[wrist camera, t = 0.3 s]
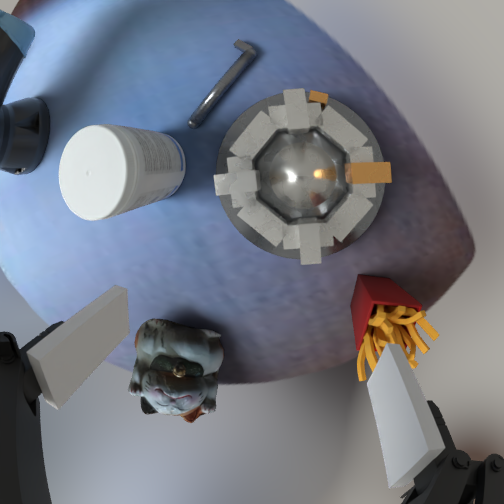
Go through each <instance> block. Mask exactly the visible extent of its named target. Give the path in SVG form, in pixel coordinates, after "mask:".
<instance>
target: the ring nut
mask: <svg viewBox="0 0 504 504" xmlns="http://www.w3.org/2000/svg"><path fill="white" fill-rule="evenodd" d="M283 95H284V102H285V105H278V106H269V107H268V108H269V116H270V117H269V116H268V115H267V114H265V113H264V112H262V111H260V112H259V113H258V115H257V116H256V117H255V118H254V119H253V121H252V122H251V123H250V124H249V125H248V127H247V128H246V129H245V130H244V132H243V133H242V134H241V135H240V137H239V138H238V139H237V140H236V142H235V143H234V144H233V145H232V147H231V148H230V149H229V150H230V151H231V152H232V153H234V154H235V155H236V157H229V158H227V165H228V173H227V174H219V175H214V183H215V191H216V196H218V195H226V194H231V197H232V205H233V208H237V207H243V208H242V209H241V210H240V212H239V213H238V214H237V216H239V217H240V218H241V219H242V220H244V221H245V222H246V223H247V224H249V225H250V226H251V227H252V228H254V229H255V230H256V231H257V232H258V233H260V234H261V235H262V236H263V237H265V238H266V239H267V240H268V241H269V242H271V243H272V244H273V245H274V246H277V245H278V244H279V243H280V242H281V241H282V240H283V245H284V249H297V248H300V258H301V265H306V264H320V263H321V247H324V246H334V243H333V236H334V237H336V238H337V239H338V240H339V241H340V242H341V241H342V240H343V239H344V238H345V237H346V236H347V235H348V234H349V233H350V231H351V230H352V229H353V228H354V227H355V226H356V225H357V223H358V222H359V221H360V220H361V219H362V218H363V217H364V215H365V214H366V213H367V212H368V211H369V210H370V208H371V207H372V206H373V204H372V203H371V202H370V201H369V200H368V199H367V198H371V197H376V188H375V183H392V179H391V165H390V162H373V151H372V147H362V146H363V145H364V143H365V142H366V141H367V140H368V139H367V138H366V137H365V136H364V135H363V134H362V133H361V132H360V131H359V130H357V129H356V128H355V127H354V126H353V125H352V124H351V123H349V122H348V121H347V120H346V119H345V118H344V117H342V116H341V115H340V114H339V113H337V112H336V111H335V110H334V109H333V108H331V107H330V106H329V105H328V106H327V107H326V108H325V109H324V111H323V112H322V111H321V104H320V102H319V103H306V97H305V90H304V88H301V89H288V90H283ZM310 129H316V130H318V131H319V132H320V133H321V134H322V135H324V136H325V137H326V138H327V139H329V140H330V141H331V142H332V143H333V144H334V145H336V146H337V147H338V148H339V149H340V150H341V151H343V152H344V153H345V157H346V163H345V164H344V166H345V177H346V182H347V183H348V192H347V193H346V194H345V196H344V197H343V198H342V199H341V200H340V201H339V203H338V204H337V205H336V206H335V207H334V208H333V210H332V211H331V212H330V213H329V214H328V215H327V216H326V218H325V219H317V218H316V217H310V218H297V219H298V221H286V220H285V219H284V218H283V217H282V216H280V215H279V214H278V213H277V212H276V211H274V210H273V209H272V208H271V207H269V206H268V205H267V204H266V203H265V202H263V201H262V200H261V199H260V198H259V196H258V190H260V189H261V182H260V173H259V170H255V162H254V161H255V160H256V158H257V157H258V156H259V155H260V153H261V152H262V151H263V150H264V149H265V147H266V146H267V145H268V144H269V142H270V141H271V140H272V139H273V138H274V136H275V135H276V134H277V133H278V132H284V131H288V132H289V134H298V133H308V131H309V130H310Z"/></svg>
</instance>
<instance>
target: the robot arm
mask: <svg viewBox="0 0 504 504" xmlns="http://www.w3.org/2000/svg"><path fill="white" fill-rule="evenodd" d="M34 37H35V30H34V28H33V27H32V26H30V25H29V24H27V23H26V22H24V21H22V20H20V19H19V18H17V17H15V16H13V15H11V14H8V13H6V12H4V11H2V10H0V170H2V171H5V172H9V173H12V174H15V175H21V174H27V173H30V172H31V171H33V170H34V169H35V168H36V167H37V165H38V164H39V162H40V161H41V159H42V157H43V154H44V152H45V149H46V146H47V142H48V137H49V129H50V119H49V112H48V109H47V106H46V104H45V103H44V102H43V101H42V100H40V99H37V98H25V99H22V100H18V101H15V102H12V103H9V104H6V105H2V104H3V102H4V99H5V97H6V95H7V92H8V90H9V88H10V86H11V83H12V81H13V79H14V77H15V75H16V73H17V71H18V69H19V67H20V65H21V63H22V61H23V59H24V58H25V57H26V53H27V51H28V49H29V47H30V45H31V43H32V42H33V40H34ZM129 333H130V332H129V317H128V296H127V289H126V288H123V287H120V286H116V285H115V286H113V287H112V288H111V289H109V290H108V291H106V292H105V293H104V294H102V295H101V296H99V297H98V298H97V299H95V300H94V301H93V302H91V303H90V304H88V305H87V306H86V307H84V308H83V309H82V310H80V311H79V312H78V313H76V314H75V315H74V316H72V317H71V318H70V319H68V320H67V321H66V322H63V321H60V322H58V323H55V324H52V325H51V326H50V327H48V328H47V329H46V330H45V331H43V332H42V333H40V335H39V336H37V337H35V338H34V339H33V340H31V341H30V342H29V343H27V344H26V345H25V346H24V347H22V348H21V349H20V350H19V348H18V345H17V342H16V338H15V336H14V335H13V334H11V333H9V332H0V504H52V502H51V498H50V493H49V489H48V483H47V478H46V472H45V465H44V458H43V450H42V440H41V425H40V402H39V398H38V396H39V395H40V394H41V393H42V394H43V396H44V398H45V401H46V402H47V403H49V404H50V405H51V406H53V407H55V408H56V409H58V410H59V409H60V408H61V407H62V406H63V405H64V404H65V402H66V401H67V400H68V399H69V398H70V397H71V396H72V395H73V393H74V392H75V391H76V390H77V389H78V388H79V387H80V386H81V385H82V383H83V382H84V381H85V380H86V379H87V378H88V377H89V376H90V375H91V374H92V373H93V371H94V370H95V369H96V368H97V367H98V366H99V365H100V364H101V363H102V362H103V361H104V360H105V358H106V357H107V356H108V355H109V354H110V353H111V352H112V351H113V350H114V349H115V348H116V347H117V346H118V345H119V344H120V342H121V341H122V340H123V339H124V338H125V337H126V336H127V335H128V334H129ZM367 386H368V390H369V394H370V398H371V402H372V406H373V411H374V414H375V419H376V423H377V428H378V432H379V437H380V442H381V447H382V452H383V457H384V462H385V468H386V473H387V479H388V485H389V488H395V487H403V486H406V485H407V484H408V483H409V482H410V481H412V480H413V479H414V483H415V485H414V486H413V487H412V488H411V489H410V490H408V491H407V492H406V493H405V494H403V495H402V496H401V498H403V497H405V496H406V495H407V496H406V497H405V499H404V500H403V502H402V503H401V504H473V500H474V499H475V504H504V459H503V457H501V456H500V455H498V454H491V455H489V456H488V457H487V458H486V459H485V460H484V461H473V460H471V458H470V457H469V455H468V454H467V453H465V452H464V451H461V450H456V448H455V445H454V443H453V440H452V438H451V435H450V433H449V430H448V428H447V426H446V425H445V421H444V419H443V418H442V414H441V412H440V410H439V408H438V407H437V406H436V405H435V403H433V401H426V399H425V396H424V394H423V392H422V390H421V387H420V386H419V383H418V381H417V379H416V377H415V375H414V372H413V370H412V368H411V366H410V364H409V362H408V360H407V358H406V356H405V354H404V352H403V350H402V348H401V346H400V344H392V343H386V346H385V348H384V350H383V352H382V354H381V356H380V359H379V361H378V363H377V365H376V367H375V369H374V371H373V373H372V375H371V377H370V379H369V381H368V383H367Z"/></svg>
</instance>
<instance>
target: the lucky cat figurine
mask: <svg viewBox="0 0 504 504" xmlns="http://www.w3.org/2000/svg"><path fill="white" fill-rule="evenodd" d="M220 336H222V335H220V334H218V333H216V332H214V331H211V330H206V329H197V328H192V327H188V326H185V325H181V324H178V323H175V322H172V321H168V320H163V319H150V320H148V321H146V322H145V323H143V324H142V325H141V327H140V328H139V330H138V331H137V334H136V337H135V348H136V351H137V359H136V362H135V365H134V369H133V374H132V379H131V382H130V385H129V389H128V391H129V392H130V394H132V395H135V396H140V397H141V408H142V411H143V412H144V413H145V414H153V413H162V414H164V415H174V416H178V415H180V416H181V417H183V418H184V420H185V421H187V422H190V423H192V422H194V421H195V420H196V419H197V418H198V417H199V416H200V415H204V414H207V413H211V412H214V411H215V409H216V395H217V389H218V384H217V376H218V371H219V367H220V366H221V364H222V361H223V358H224V349H223V347H222V345H221V343H220V339H219V337H220Z"/></svg>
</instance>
